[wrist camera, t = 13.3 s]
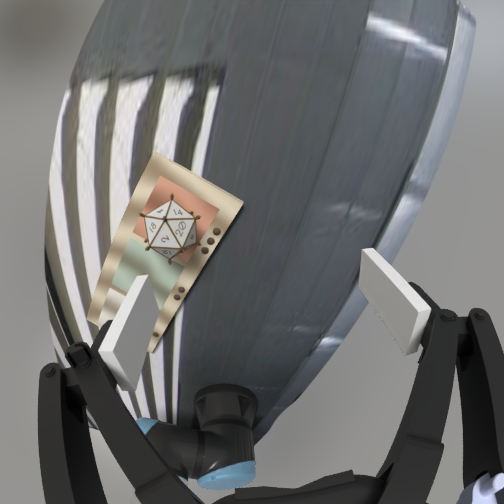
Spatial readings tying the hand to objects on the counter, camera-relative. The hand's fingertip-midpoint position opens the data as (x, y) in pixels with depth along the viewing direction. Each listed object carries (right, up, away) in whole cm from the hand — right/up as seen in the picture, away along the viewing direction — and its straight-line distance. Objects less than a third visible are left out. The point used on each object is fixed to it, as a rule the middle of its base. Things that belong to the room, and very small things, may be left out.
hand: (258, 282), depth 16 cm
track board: (-18, -2, +28) cm, 34 cm away
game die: (-12, +7, +24) cm, 27 cm away
